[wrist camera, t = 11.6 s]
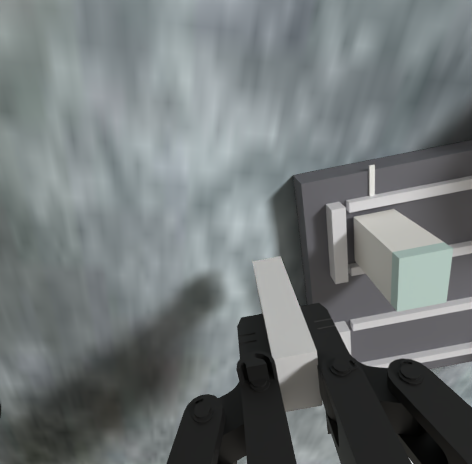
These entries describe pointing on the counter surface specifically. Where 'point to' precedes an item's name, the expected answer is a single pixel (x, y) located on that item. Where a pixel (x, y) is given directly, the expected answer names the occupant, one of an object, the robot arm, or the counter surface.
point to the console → (354, 278)
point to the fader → (402, 259)
